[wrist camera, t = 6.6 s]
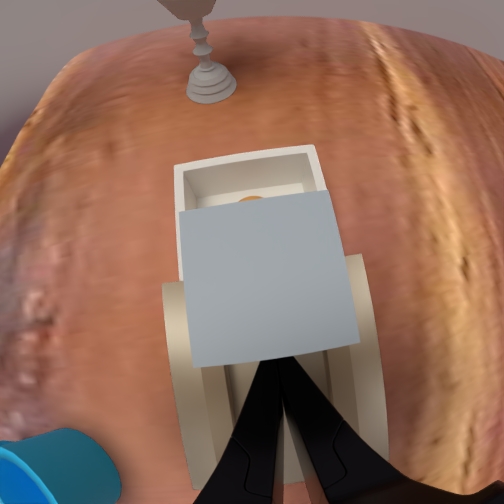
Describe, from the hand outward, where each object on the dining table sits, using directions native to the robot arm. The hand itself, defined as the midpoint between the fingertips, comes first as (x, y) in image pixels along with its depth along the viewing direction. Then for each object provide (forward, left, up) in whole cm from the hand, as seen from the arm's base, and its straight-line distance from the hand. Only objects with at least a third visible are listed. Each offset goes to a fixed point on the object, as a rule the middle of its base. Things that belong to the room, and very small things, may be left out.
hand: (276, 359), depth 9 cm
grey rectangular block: (+1, -2, -4) cm, 4 cm away
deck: (-1, +1, -11) cm, 11 cm away
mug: (+12, +18, -11) cm, 24 cm away
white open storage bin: (+4, -7, -11) cm, 13 cm away
